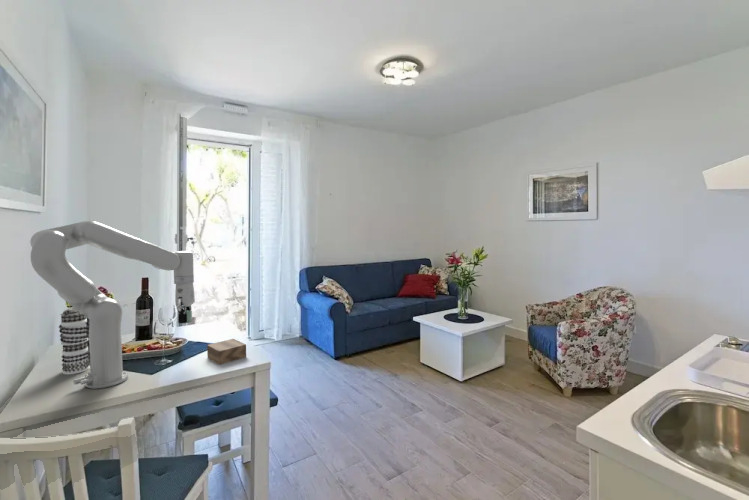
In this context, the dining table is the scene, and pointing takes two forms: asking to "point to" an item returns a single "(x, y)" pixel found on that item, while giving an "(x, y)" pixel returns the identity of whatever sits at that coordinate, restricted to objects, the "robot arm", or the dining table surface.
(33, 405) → the dining table surface
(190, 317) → the green rounded block
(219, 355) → the walnut block
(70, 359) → the black white patterned vase
